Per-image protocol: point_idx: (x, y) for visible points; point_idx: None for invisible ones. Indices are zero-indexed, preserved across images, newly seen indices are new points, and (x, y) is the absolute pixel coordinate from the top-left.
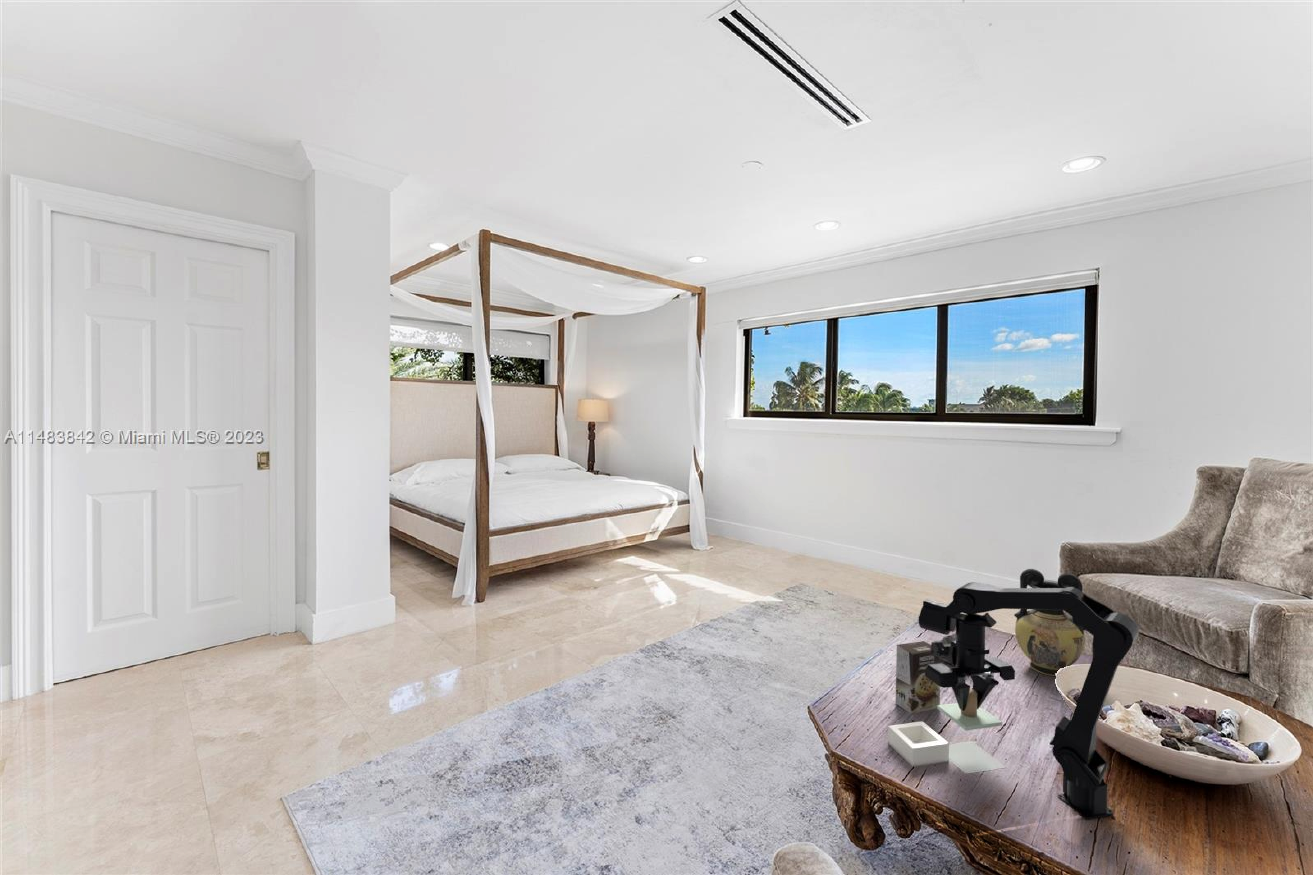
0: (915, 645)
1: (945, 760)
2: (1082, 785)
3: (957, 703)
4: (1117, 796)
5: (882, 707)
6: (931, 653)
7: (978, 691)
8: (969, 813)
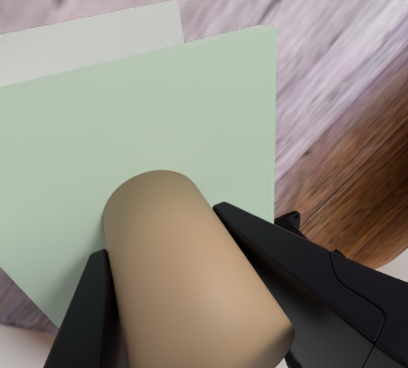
0: None
1: None
2: None
3: (133, 76)
4: (338, 203)
5: None
6: None
7: (310, 341)
8: (25, 324)
